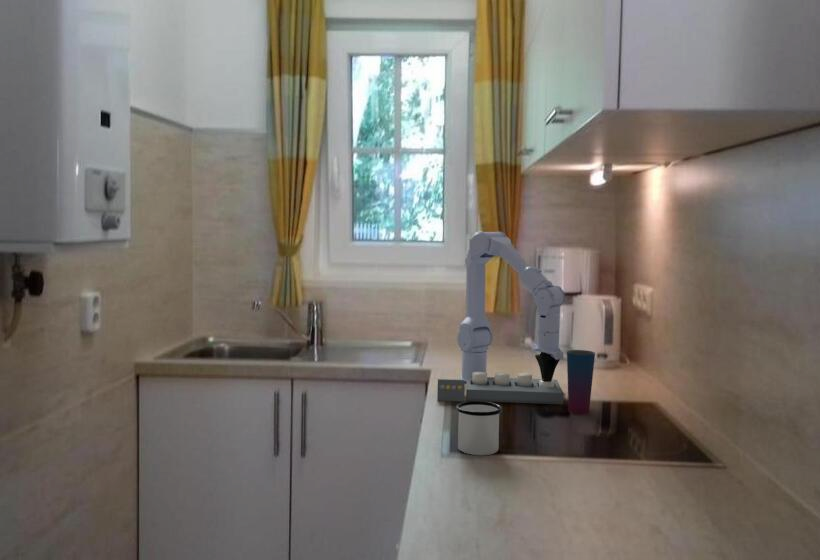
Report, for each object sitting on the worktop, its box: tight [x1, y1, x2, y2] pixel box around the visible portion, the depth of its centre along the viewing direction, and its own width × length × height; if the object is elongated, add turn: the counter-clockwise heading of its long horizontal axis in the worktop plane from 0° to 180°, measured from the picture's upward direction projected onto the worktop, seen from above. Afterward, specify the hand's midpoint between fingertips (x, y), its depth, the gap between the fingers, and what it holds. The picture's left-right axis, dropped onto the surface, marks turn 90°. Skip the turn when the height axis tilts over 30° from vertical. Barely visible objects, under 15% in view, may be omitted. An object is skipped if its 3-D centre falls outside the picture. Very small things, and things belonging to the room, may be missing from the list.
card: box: [436, 378, 466, 402], centre depth 196 cm, size 1×7×6 cm, turn 86°
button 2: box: [494, 372, 511, 386], centre depth 204 cm, size 4×4×3 cm
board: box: [465, 376, 564, 405], centre depth 203 cm, size 16×25×3 cm, turn 85°
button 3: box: [516, 372, 533, 387], centre depth 203 cm, size 4×4×3 cm
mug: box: [455, 401, 503, 457], centre depth 156 cm, size 12×10×9 cm
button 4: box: [539, 379, 554, 387], centre depth 203 cm, size 4×4×3 cm
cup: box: [566, 349, 596, 415], centre depth 186 cm, size 7×7×15 cm
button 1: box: [472, 372, 488, 385], centre depth 204 cm, size 4×4×3 cm
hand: (546, 381), depth 203 cm, fingers closed, pressing on button 4
